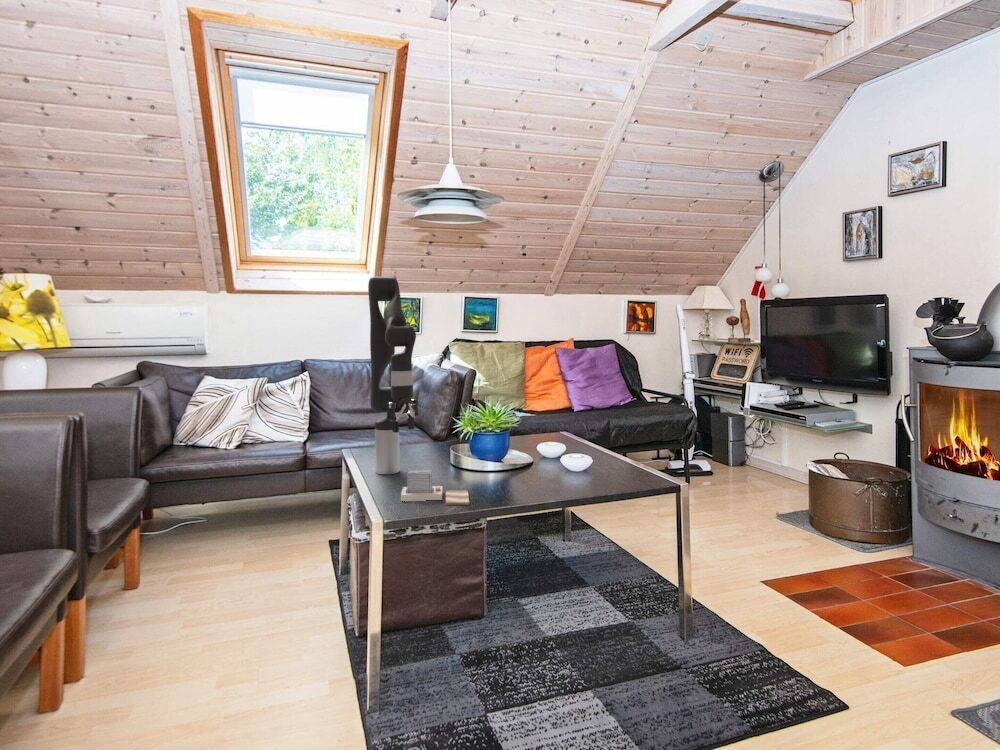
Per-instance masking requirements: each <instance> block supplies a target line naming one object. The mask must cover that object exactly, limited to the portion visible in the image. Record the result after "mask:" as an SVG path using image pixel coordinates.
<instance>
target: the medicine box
mask: <svg viewBox="0 0 1000 750" xmlns="http://www.w3.org/2000/svg"><path fill="white" fill-rule="evenodd" d="M406 478H407V483H406V484H407V486H406V487H408V493H432V486H433V471H432V470H409V471H408V472H407V476H406Z"/></svg>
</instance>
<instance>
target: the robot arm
mask: <svg viewBox="0 0 1000 750" xmlns="http://www.w3.org/2000/svg"><path fill="white" fill-rule="evenodd" d="M399 285H400V284H399V283H398V280H397V279H396V278H395V277H394V276H393V277H391V276H371V277H370V278H369V280H368V287H367V289H368V302H369V303H368V304H369V305H368V306H369V315H370V317H369V319H370V327H369V329H370V330H369V331H370V332H369V333H370V334H369V335H370V337H369V345H370V347H369V349H370V352H369V353H370V370H371V371H370V372H371V374H370V375H371V376H370V396H369V398H370V399H369V400H370V408H371V410H372V411H373V412H386V413H387V414H386V416H385V417H382V418H380V419H377V420H376V421H375V422H374V442H375V443H374V450H375V451H374V452H375V453H374V454H375V455H374V456H375V458H374V459H375V461H374V462H375V463H374V464H375V473H376V474H378V475H393V474H398V473H399V472H400V423H399V422H400V417H402V415H403V414H405V415H406V417H407V429H408V430H414V429H415V419H416V417H418V416H419V407H418V406H419V405H418V403H419V402H418V399H417V398H414V376H413V371H412V370H413V367H412V366H413V364H412V358H413V351H414V347H415V342H416V339H417V333H416V330H415V328H413V326H411V325H407V320H406V318H405V315H404V312H403V309H402V307H403V306H402V299H401V293H400V292H401V291H400V286H399ZM379 302H388V304H387V305H386V306H385V308H384V311H383V314H382V311H381V310H380V306H379ZM398 347H399V348H402V347H404V349H403V351H402V352H397V353H395V352H396V349H395V348H398ZM389 364H390V368H391V369H390V370H391V372H390V373H391V374H390V386H387V387H386V386H382V387H381V386H380V382H381V380H382V376H383V375H384V372H385V371H386V369H387V367H388V366H389Z"/></svg>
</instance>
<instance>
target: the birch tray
mask: <svg viewBox="0 0 1000 750" xmlns="http://www.w3.org/2000/svg"><path fill="white" fill-rule="evenodd" d="M469 498H470V496H469V491H468V489H466V490H445V506H466V505H467V506H468V505H470V499H469Z"/></svg>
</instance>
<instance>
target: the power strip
mask: <svg viewBox="0 0 1000 750" xmlns="http://www.w3.org/2000/svg"><path fill="white" fill-rule="evenodd" d="M426 500H442V501H443V485H438V486H437V483H432V493H408V487H407V486H402V489H401V492H400V502H402V501H403V502H404V501H405V502H427V501H426Z"/></svg>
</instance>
